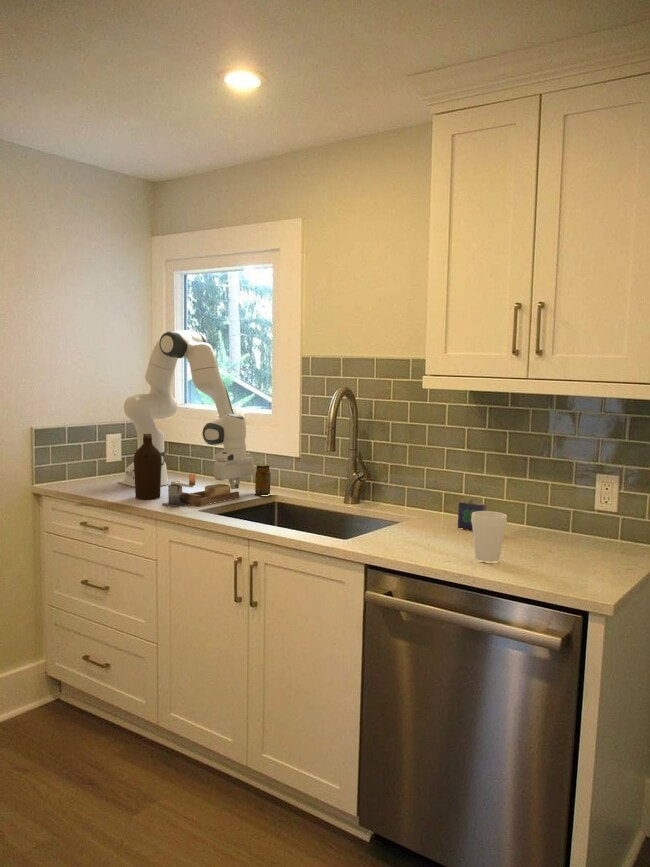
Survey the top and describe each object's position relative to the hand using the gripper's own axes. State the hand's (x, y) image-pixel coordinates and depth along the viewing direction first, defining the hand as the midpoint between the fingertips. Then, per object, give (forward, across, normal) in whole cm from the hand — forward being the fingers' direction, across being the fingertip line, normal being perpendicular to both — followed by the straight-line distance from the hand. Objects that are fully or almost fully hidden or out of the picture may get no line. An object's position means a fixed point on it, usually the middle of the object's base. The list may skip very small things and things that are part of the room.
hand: (234, 488), depth 291 cm
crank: (-5, +29, +2) cm, 30 cm away
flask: (+4, -7, +100) cm, 100 cm away
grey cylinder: (+3, +30, -2) cm, 30 cm away
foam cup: (+4, +25, +120) cm, 122 cm away
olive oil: (+3, +26, -21) cm, 34 cm away
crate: (+3, +10, 0) cm, 10 cm away
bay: (+3, +14, 0) cm, 14 cm away
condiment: (+3, -8, +8) cm, 12 cm away
